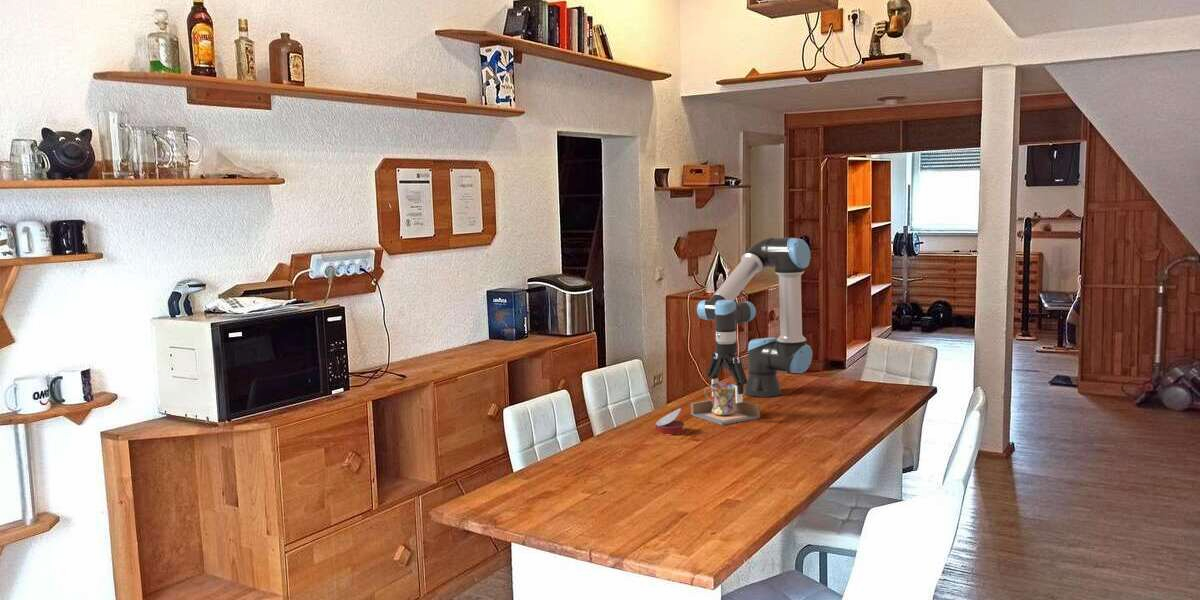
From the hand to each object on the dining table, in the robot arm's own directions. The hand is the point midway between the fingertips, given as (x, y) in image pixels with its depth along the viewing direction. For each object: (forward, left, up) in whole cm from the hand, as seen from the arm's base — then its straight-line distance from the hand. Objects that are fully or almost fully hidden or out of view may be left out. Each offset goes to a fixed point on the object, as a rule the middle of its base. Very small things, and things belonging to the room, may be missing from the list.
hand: (727, 399), depth 337 cm
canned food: (+28, +3, -8) cm, 30 cm away
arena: (-1, -2, -7) cm, 7 cm away
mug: (+1, -3, -6) cm, 7 cm away
